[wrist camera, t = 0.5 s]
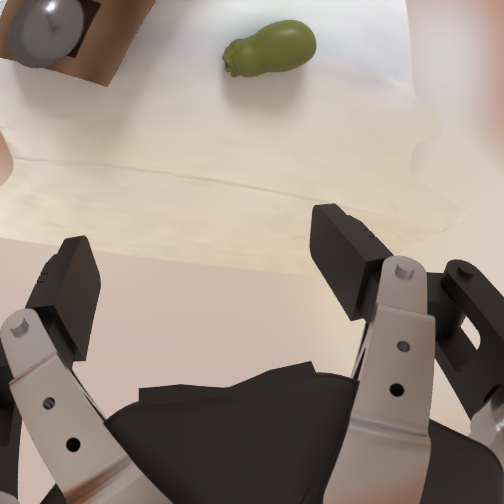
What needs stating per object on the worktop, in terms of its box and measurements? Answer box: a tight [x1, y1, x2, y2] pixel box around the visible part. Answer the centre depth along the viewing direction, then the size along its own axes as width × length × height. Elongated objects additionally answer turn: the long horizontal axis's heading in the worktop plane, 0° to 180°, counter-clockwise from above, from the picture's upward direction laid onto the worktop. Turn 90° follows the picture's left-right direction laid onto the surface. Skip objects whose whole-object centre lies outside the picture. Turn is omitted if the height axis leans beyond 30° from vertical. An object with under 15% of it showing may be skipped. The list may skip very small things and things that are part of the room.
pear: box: [222, 20, 316, 78], centre depth 27 cm, size 6×5×10 cm
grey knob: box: [8, 0, 86, 68], centre depth 16 cm, size 6×6×6 cm
